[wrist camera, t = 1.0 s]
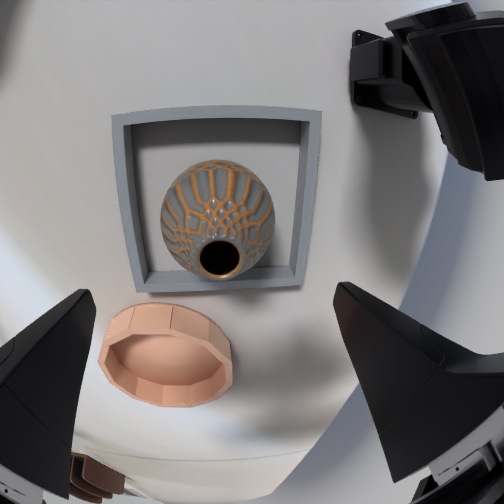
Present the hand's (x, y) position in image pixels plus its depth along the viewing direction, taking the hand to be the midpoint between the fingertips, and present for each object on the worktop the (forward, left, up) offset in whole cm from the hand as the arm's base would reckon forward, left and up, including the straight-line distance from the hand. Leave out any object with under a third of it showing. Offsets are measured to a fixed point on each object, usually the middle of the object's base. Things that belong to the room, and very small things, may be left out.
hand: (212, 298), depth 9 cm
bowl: (+6, +16, -12) cm, 21 cm away
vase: (0, 0, -12) cm, 12 cm away
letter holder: (+42, +74, -12) cm, 86 cm away
